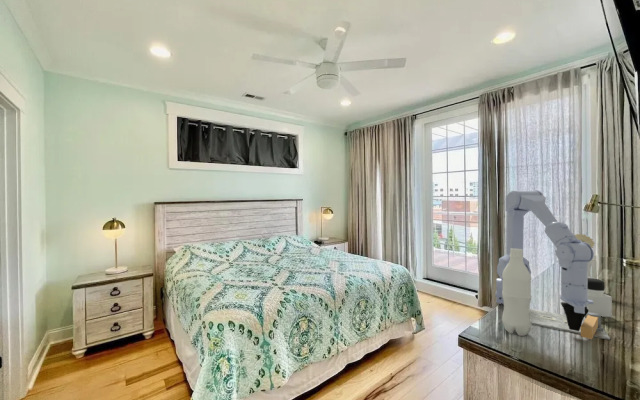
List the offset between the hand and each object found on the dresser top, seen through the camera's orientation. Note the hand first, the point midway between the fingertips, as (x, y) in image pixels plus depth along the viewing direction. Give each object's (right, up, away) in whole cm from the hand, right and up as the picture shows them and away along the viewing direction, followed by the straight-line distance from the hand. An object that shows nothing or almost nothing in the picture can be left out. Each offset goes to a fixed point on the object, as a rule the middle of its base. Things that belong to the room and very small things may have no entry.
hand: (574, 329), depth 81 cm
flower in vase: (+43, -2, +41) cm, 60 cm away
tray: (+4, -2, +8) cm, 10 cm away
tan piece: (+5, 0, +1) cm, 5 cm away
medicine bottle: (+22, -2, +17) cm, 28 cm away
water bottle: (-15, -2, +2) cm, 16 cm away
